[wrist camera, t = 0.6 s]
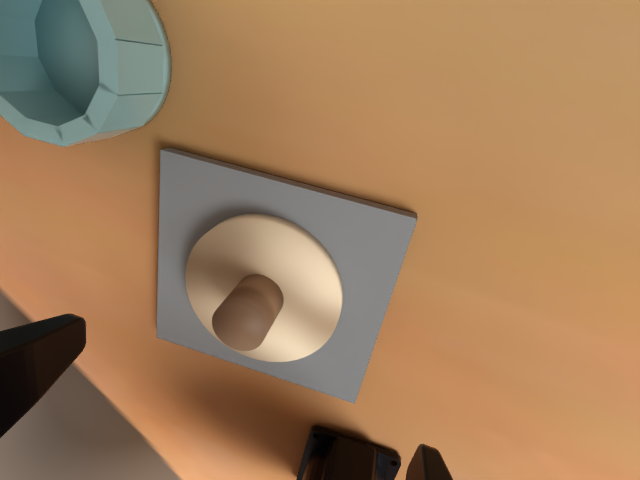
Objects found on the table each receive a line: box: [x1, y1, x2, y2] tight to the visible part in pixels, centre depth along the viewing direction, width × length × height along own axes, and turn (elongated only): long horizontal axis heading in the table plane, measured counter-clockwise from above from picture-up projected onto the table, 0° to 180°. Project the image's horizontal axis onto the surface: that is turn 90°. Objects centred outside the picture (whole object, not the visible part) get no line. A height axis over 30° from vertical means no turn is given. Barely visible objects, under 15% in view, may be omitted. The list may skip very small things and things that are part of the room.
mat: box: [157, 147, 417, 404], centre depth 23 cm, size 13×14×1 cm
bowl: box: [0, 0, 172, 147], centre depth 18 cm, size 8×8×4 cm
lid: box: [185, 213, 343, 362], centre depth 20 cm, size 9×9×4 cm
